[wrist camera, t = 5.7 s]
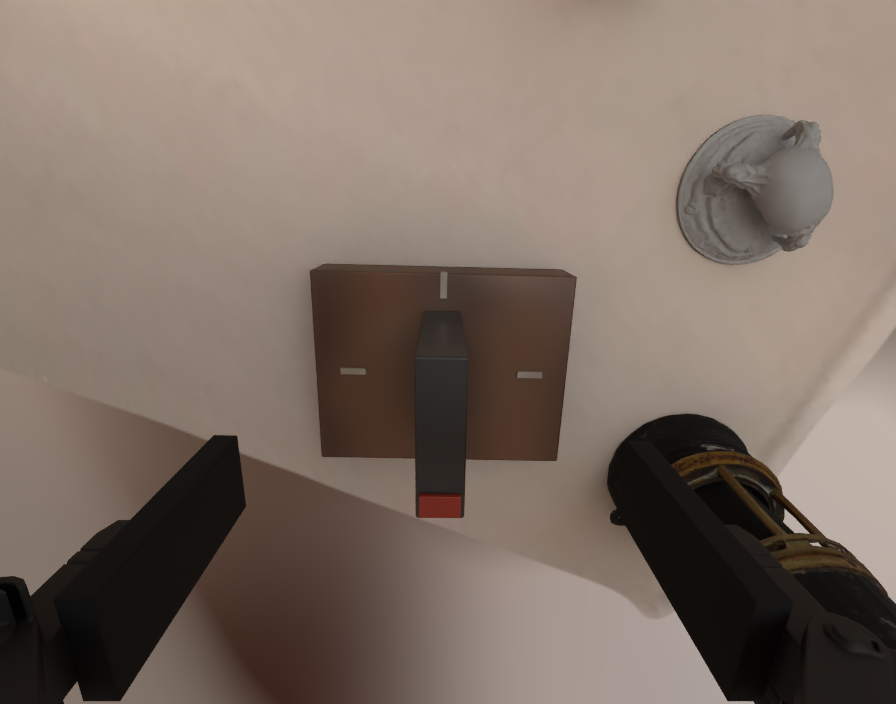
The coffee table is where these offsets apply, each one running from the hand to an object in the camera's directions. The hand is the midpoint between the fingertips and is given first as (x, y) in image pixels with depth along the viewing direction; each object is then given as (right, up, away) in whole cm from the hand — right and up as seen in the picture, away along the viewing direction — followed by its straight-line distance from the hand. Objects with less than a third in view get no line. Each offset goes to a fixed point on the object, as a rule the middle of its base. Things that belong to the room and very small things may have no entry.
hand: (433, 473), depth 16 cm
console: (0, +4, +13) cm, 13 cm away
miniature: (+17, +13, +10) cm, 24 cm away
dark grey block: (0, +3, +10) cm, 10 cm away
